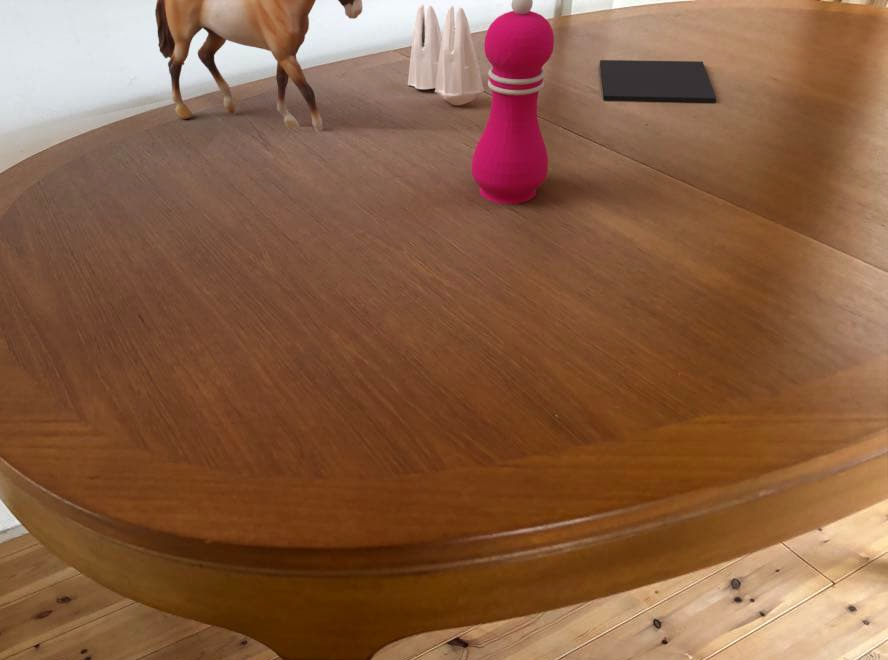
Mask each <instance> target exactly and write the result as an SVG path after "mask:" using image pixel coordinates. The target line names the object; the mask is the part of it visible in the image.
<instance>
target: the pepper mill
mask: <svg viewBox="0 0 888 660" xmlns="http://www.w3.org/2000/svg"><path fill="white" fill-rule="evenodd" d="M533 3H534V2H533V0H511V9H512V10H511V11H507V12H505V13H503V14H501V15H499V16H498V17H496V18H495V19H494V20H493V21H492V22H491V23H490V25H489V27H488V28H487V30H486V34H485V38H484V45H483V46H484V48H483V49H484V54H485V58H486V59H487V61H488V62H489V63H490V65H491V66H492V67H490V68H489V70H488V80H487V86H488V88H489V89H490V90H491V104H490V112H489V116H488V120H487V122H486V125H485V127H484V129H483V132H482V134H481V136H480V138H479V139H478V142H477V144H476V146H475V149H474V152H473V155H472V158H471V167H470V168H471V169H470V171H471V175H472V178H473V180H474V181H475V183H476V184H477V185H478V186H479V194H480V195H481V197H483V198H484V199H485V200H487V201H490V202H493V203H498V204H504V205H508V204H510V205H512V204H520V203H524V202H527V201H529V200H531V199H533V198H534V197H536V194H537V190H536V189H538V187H540V186H541V185H542V184H543V182H544V181H545V179H546V178H547V176H548V173H549V171H548V170H549V157H548V151H547V146H546V144H545V141H544V138H543V135H542V131H541V128H540V127H541V126H540V124H539V117H538V98H539V92H540V91H541V90H543V89H544V87H545V79H544V78H545V76H546V70H545V69H544V68H543V67H544V66H545V64H547V62H549V60H550V59H551V56H552V55H553V52H554V46H555V35H554V30H553V27H552V25H551V23H550V21H549V20H548V19H547V18H546V17H544V16H543V15H542V14H540V13H537V12H535V11H532V8H533Z"/></svg>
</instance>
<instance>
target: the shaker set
mask: <svg viewBox="0 0 888 660" xmlns="http://www.w3.org/2000/svg"><path fill="white" fill-rule="evenodd" d="M415 14H416V15H415V22H414V28H413V35H412V43H411V50H410V57H409V58H410V61H409V67H408V68H409V69H408V78H407V86H411V87H414V88H415V89H418V90H430V89H435V90H434V93H436V94H438V95H439V96H441V98H443V99H444V100H445V101H446V102H448V103H449V104H451V105H453V106H462V105H465V104H468V103H470V102H472V101H473V100H475V99H477V98H478V97H479V96H481V95H482V94H483V93H484V91H485V89H484V84H483V79H482V76H481V71H480V67H479V62H478V59H477V53H476V50H475V46H474V42H473V38H472V35H471V29H470V25H469V20H468V18H467V15H466V13H465V11H464V9H463V7H461V6H459V7H458V8H457V10H456V13H455V8H454V6H453V5H450V6H448V7H447V10H446V14H445V18H444V25H443V31H442V33H441V27H440V24H439V20H438V17H437V14H436V12H435V10H434V8H433V6H432V5H428V6H427V8H426V12H425V5H424V3H423V4H419V5H418V7H417V10H416V13H415ZM455 14H456V15H455Z"/></svg>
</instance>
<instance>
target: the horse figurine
mask: <svg viewBox="0 0 888 660" xmlns="http://www.w3.org/2000/svg"><path fill="white" fill-rule="evenodd" d="M316 1H317V0H156V4H155V9H154V11H155V12H154V15H155V22H156V27H157V38H158V49H159V52H160V53H161V54H162V56H163V58H164V59H168V58H169V60H168V62H167V66H168V73H169V74H170V79H171V80H170V81H171V100H172V101H173V102H174V103H175V105H176V107H175V109H174V110H175V113H176V115H177V116H178V117H179V118H180V119H184V120H187V119H190V118H192V116H193V112H192V111H191V110H190V108H189V107H188V106H187V104H186V103H184V101H183V98H182V92H181V87H180V77H181V73H182V69H183V66H185V61H186V60H187V58H188V56H189V52H190V48H191V43H192V41H193V39H194V37H195V36H196V35H197V34H198V33H199V32H200V31H201V30H202V29H203V30H204V31H206V32H207V36H206V38H205V40H204V42H203V43H202V45H201V47H200V48H199V49H198V50H197V57H198V59H199V60H200V62H201V63H202V64H203V65H204V66H205V67H206V68H207V70H208V71H209V73H210V74H211V76H212V78H213V79H214V81H215V83H216V85H217V87H218V89H219V90H220V92H221V93H222V94H223V95H224V97H223V107H224V109H225V110H226V111H227V112H228V113H230V114H235V112H236V102H235V99H234V96H233V94H232V90H231V86H230V85H229V83H228V82H227V81H226V80H225V79H224V77H223V76H222V74H221V71H219V69H218V67H217V65H216V61H215V55H216V54H217V52H218V51H219V50H220V49H221V48H222V47H223V46H224V45H225V44H226V42H227V41H229V42H232V43H235V44H238V45H242V46H246V47H250V48H251V47H252V48H255V49H256V48H257V49H261V50H266V51H268V52H270V53H271V54H272V56H273V58H274V59H275V61H276V62H277V63H276V73H275V74H276V76H275V78H276V79H275V80H276V84H277V100H276V101H277V102H276V110H277V112H278V113H280V114H281V115H282V117H283V124H284V126H285V127H296V128H297V127H298V128H299V127H301V125H300V123H299V122H298V121H297V119H296V117H294V116H293V115H292V114H291V113H290V111H289V110H288V107H287V104H286V89H287V86H288V82H289V78H290V80H291V81H292V83H293V84H294V85H295V87H296V88H297V90H298V91H299V93H300V95H302V98H303V99H304V101H305V102H306V104H307V106H308V110H309V113H310V118H311V123H312V126H313V128H314V130H315V132H321V131H323V119H322V116H321V115H320V112H319V109H318V107H317V103H316V95H315V91H314V89H313V87H312V86H311V85H310V84H309V83H308V81H307V79H306V77H305V75H304V72H303V69H302V66H301V65H300V63H299V61H298V59H297V54H298V52H299V49H300V48H301V46H302V45H303V43H304V42H305V38H306V35H307V34H308V31H309V29H310V17H309V14H310V13H311V11H312V9H313V7H314V5H315V4H316ZM337 1H338V2H339V3H340V5H341V6H342V7H343V8H344V14H345V16H346V17H348V19H352V20H353V19H357V18H358V17H359V15H361V14H362V13H363V0H337Z"/></svg>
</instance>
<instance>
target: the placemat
mask: <svg viewBox="0 0 888 660" xmlns="http://www.w3.org/2000/svg"><path fill="white" fill-rule="evenodd" d="M599 71H600V79H601V81H600V82H601V90H602V99H603V101H608V102H609V101H612V102H613V101H614V102H615V101H616V102H617V101H619V102H657V103H658V102H659V103H660V102H663V103H701V104H702V103H705V104H706V103H708V104H715V103H716V102H717V96H716V94H715V91H714V88H713V85H712V83H711V80H710V77H709V74H708V72H707V69H706V67H705V64H704V61H703V60H702V61H701V60H700V61H699V60H698V61H696V60H695V61H694V60H693V61H692V60H691V61H689V60H630V59H629V60H627V59H625V60H623V59H615V60H614V59H611V60H610V59H600V60H599Z"/></svg>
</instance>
